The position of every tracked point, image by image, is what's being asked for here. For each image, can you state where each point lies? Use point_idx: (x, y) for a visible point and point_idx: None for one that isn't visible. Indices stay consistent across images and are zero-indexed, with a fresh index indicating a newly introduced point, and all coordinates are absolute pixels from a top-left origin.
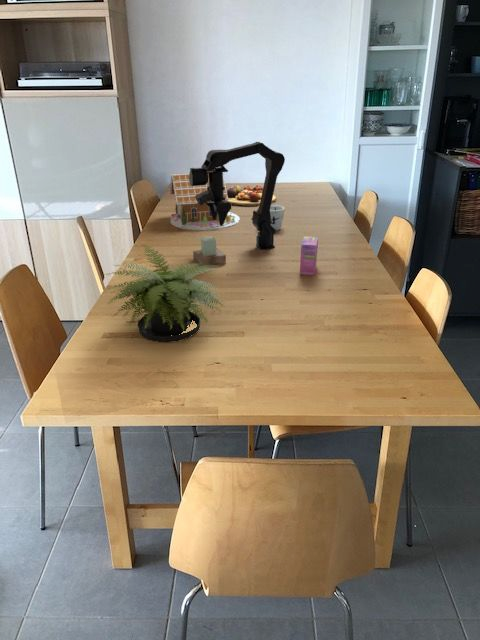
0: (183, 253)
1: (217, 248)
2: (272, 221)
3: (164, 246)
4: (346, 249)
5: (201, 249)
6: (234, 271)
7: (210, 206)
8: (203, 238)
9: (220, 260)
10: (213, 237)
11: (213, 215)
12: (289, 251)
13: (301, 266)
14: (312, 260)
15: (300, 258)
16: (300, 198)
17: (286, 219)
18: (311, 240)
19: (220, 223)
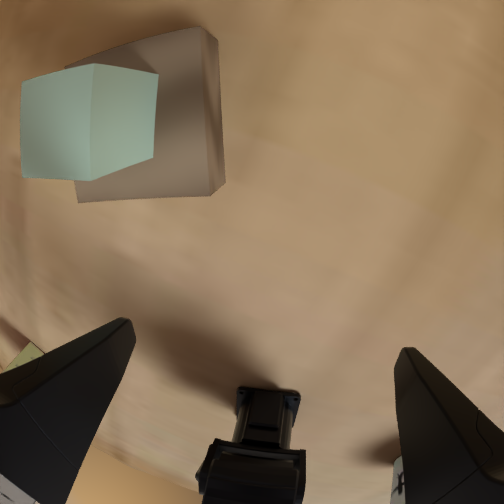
0: (355, 19)
1: (191, 196)
2: (403, 478)
3: (496, 6)
4: (176, 473)
5: (146, 72)
6: (36, 195)
7: (483, 492)
8: (67, 84)
9: None
10: (69, 175)
11: (415, 394)
12: (191, 423)
13: (18, 355)
14: None
15: (7, 367)
16: None
17: None
18: None
19: (101, 332)
